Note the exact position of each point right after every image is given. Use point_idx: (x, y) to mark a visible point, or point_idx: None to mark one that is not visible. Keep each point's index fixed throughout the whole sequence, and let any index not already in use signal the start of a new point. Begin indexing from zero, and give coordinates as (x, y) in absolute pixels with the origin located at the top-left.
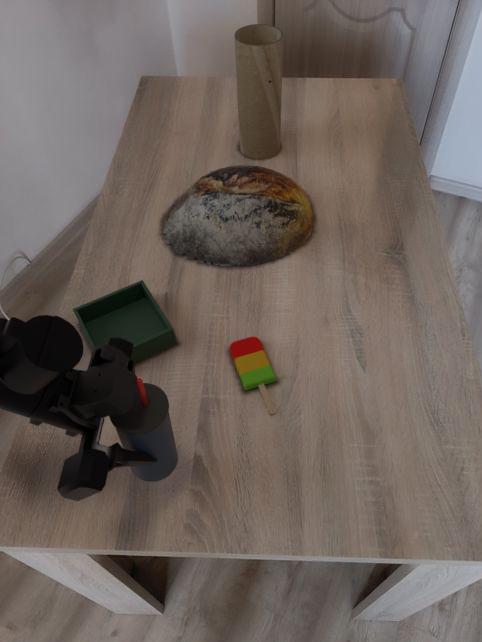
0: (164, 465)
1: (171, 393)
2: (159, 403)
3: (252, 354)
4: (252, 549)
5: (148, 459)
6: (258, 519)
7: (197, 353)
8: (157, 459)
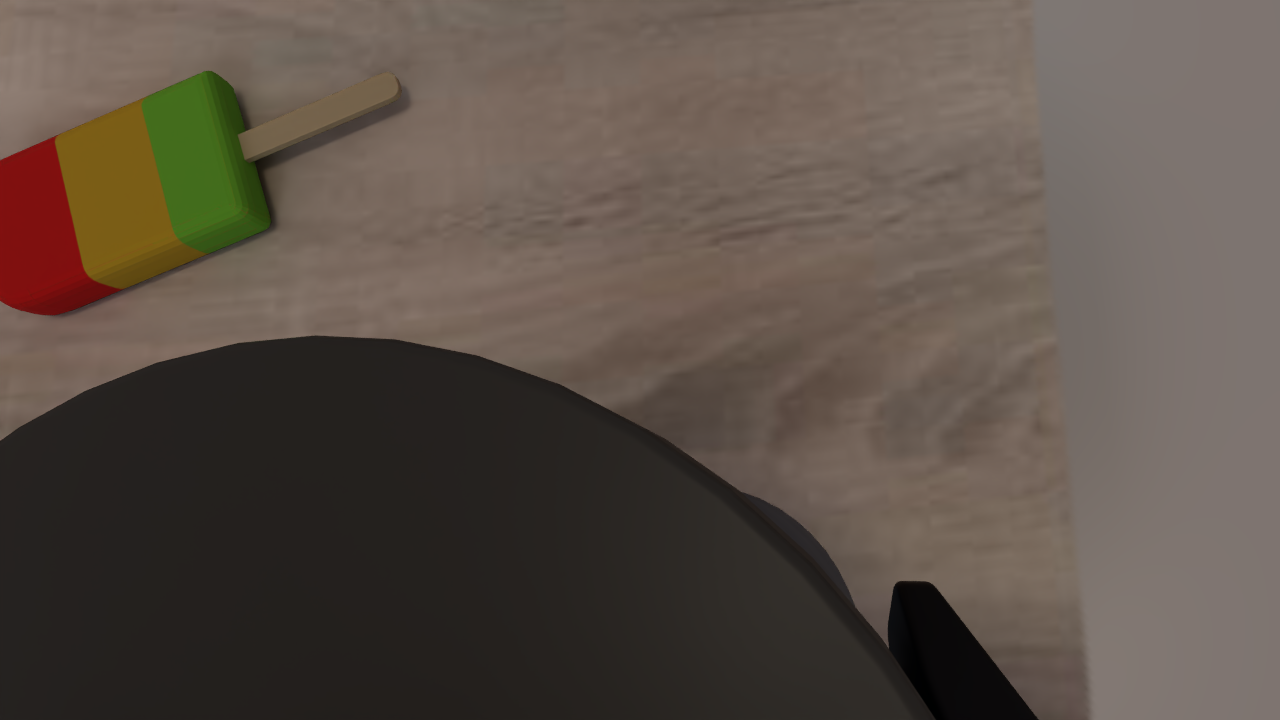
0: (816, 545)
1: None
2: (177, 560)
3: (72, 187)
4: (1040, 139)
5: (986, 680)
6: (902, 124)
7: None
8: (903, 581)
